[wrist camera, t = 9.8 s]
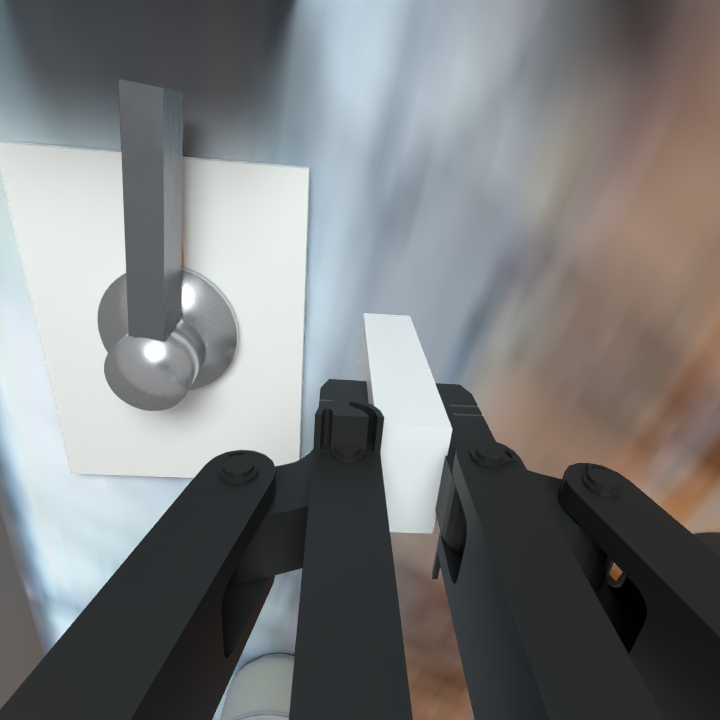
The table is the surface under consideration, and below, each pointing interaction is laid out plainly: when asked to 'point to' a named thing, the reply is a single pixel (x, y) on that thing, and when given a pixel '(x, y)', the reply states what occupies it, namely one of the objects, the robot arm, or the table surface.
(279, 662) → the teacup
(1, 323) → the table surface
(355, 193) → the table surface
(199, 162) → the base plate
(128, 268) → the grey metal lever
